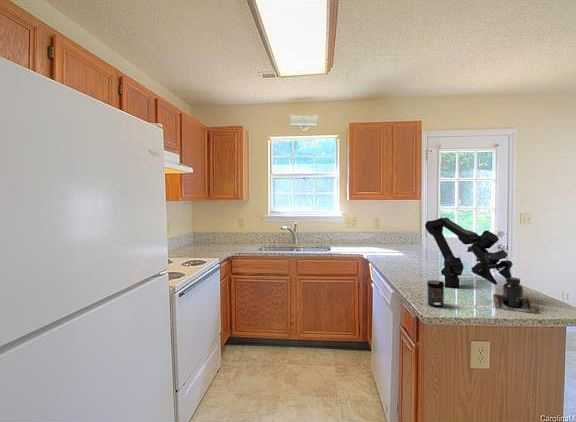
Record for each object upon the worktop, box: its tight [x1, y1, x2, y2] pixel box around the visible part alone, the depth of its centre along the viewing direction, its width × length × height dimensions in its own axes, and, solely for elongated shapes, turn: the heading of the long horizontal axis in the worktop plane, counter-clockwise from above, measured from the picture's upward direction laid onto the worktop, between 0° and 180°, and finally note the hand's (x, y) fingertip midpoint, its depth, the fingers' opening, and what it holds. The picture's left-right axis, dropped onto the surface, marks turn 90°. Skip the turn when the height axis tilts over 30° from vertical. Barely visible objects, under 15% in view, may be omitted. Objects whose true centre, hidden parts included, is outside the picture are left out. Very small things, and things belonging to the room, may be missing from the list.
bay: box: [492, 293, 536, 315], centre depth 127 cm, size 13×12×3 cm
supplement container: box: [426, 279, 445, 308], centre depth 131 cm, size 7×7×10 cm
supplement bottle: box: [502, 276, 524, 308], centre depth 127 cm, size 7×7×12 cm
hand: (504, 283), depth 130 cm, fingers open, 9 cm apart
